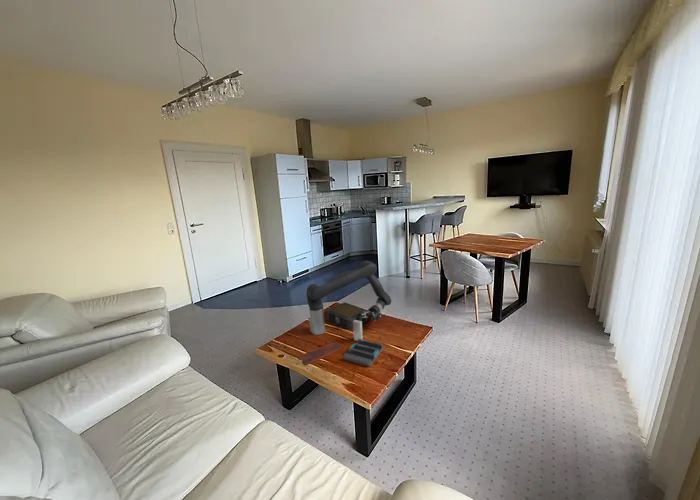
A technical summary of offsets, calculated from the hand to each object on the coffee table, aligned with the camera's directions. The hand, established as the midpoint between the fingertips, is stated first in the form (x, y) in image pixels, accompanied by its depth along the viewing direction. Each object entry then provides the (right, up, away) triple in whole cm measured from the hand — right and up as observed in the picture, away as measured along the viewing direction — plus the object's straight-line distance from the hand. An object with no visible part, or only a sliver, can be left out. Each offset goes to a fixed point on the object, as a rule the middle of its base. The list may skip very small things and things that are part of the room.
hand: (365, 320), depth 188 cm
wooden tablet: (-27, -16, -19) cm, 37 cm away
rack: (-2, -14, -23) cm, 27 cm away
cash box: (-12, -5, +20) cm, 24 cm away
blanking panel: (-5, -11, -8) cm, 14 cm away
